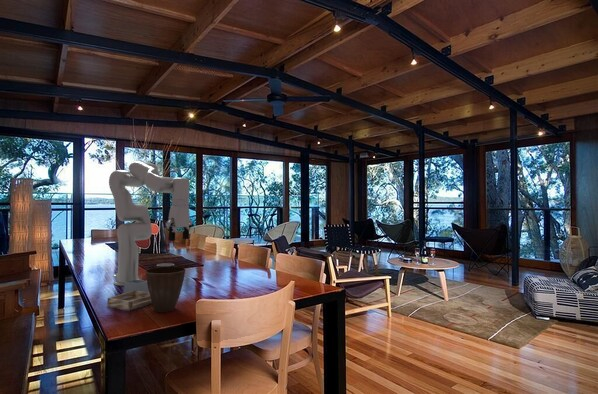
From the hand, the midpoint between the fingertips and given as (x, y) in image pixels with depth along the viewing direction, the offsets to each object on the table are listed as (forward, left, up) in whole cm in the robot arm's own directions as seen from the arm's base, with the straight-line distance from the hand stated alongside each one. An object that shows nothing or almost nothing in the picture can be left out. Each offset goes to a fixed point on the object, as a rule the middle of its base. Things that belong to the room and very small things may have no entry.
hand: (179, 239), depth 159 cm
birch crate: (-5, -21, -26) cm, 34 cm away
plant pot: (+12, -21, -26) cm, 35 cm away
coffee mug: (-21, +13, -26) cm, 36 cm away
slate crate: (-16, -9, -26) cm, 31 cm away
